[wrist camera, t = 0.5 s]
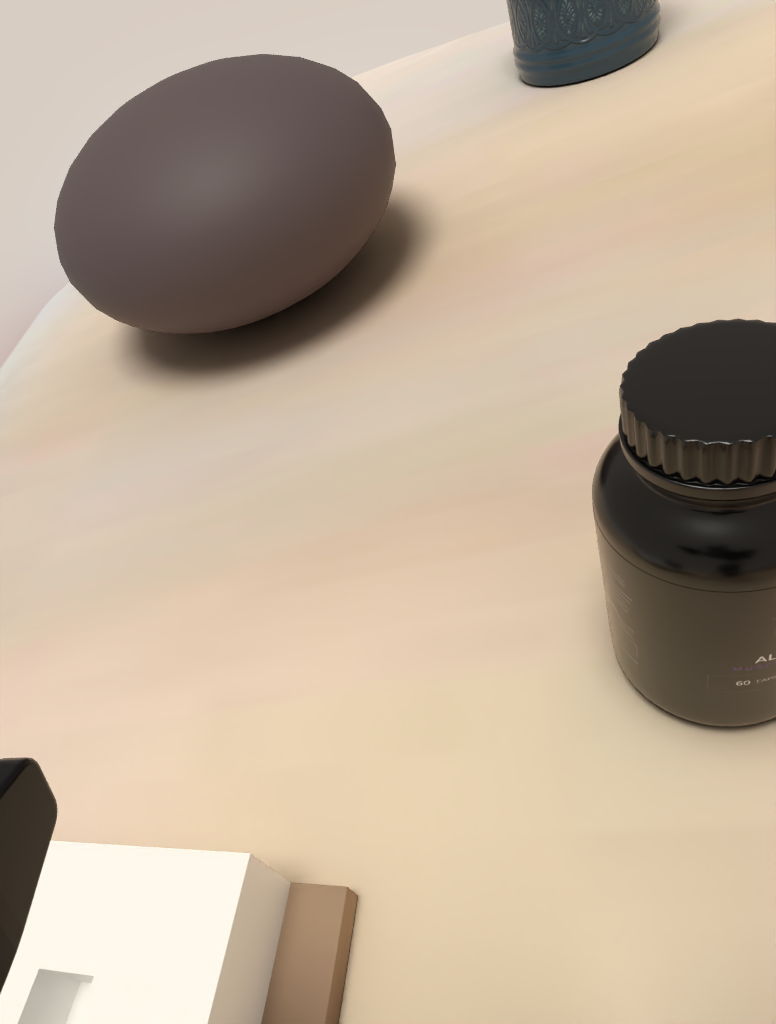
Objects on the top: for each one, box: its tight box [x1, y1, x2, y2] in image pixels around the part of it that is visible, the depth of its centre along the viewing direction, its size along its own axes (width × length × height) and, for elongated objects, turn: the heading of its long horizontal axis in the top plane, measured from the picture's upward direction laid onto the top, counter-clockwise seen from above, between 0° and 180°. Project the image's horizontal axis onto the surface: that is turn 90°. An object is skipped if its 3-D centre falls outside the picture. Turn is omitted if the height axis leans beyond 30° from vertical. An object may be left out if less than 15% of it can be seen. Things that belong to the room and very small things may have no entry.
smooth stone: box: [54, 54, 396, 334], centre depth 50 cm, size 25×25×15 cm
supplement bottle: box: [592, 319, 776, 726], centre depth 21 cm, size 7×7×12 cm
